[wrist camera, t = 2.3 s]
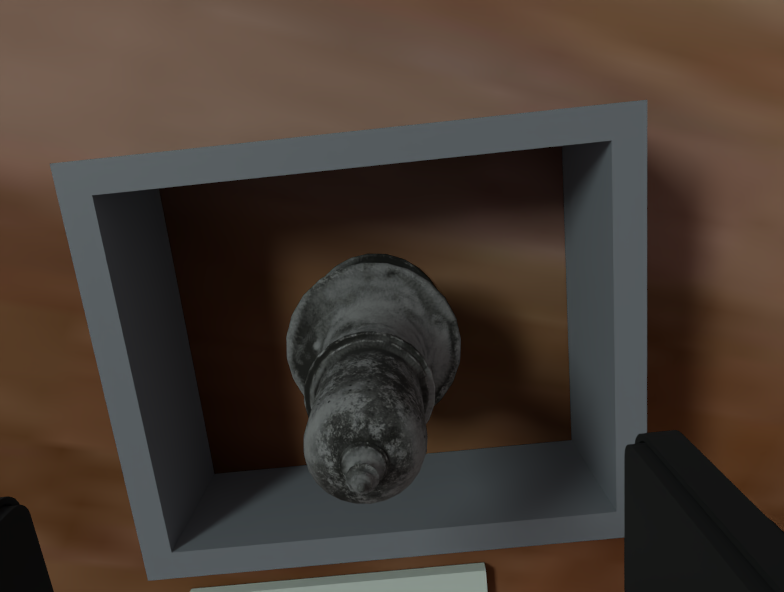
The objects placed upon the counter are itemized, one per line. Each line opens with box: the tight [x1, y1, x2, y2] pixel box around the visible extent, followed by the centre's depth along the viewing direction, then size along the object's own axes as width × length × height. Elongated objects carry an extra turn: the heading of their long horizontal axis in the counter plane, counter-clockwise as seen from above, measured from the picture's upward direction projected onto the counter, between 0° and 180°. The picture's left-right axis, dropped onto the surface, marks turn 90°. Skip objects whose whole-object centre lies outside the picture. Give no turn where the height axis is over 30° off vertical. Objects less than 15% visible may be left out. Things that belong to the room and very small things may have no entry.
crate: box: [50, 100, 647, 581], centre depth 21 cm, size 17×14×5 cm
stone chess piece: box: [286, 254, 461, 504], centre depth 17 cm, size 6×6×12 cm
